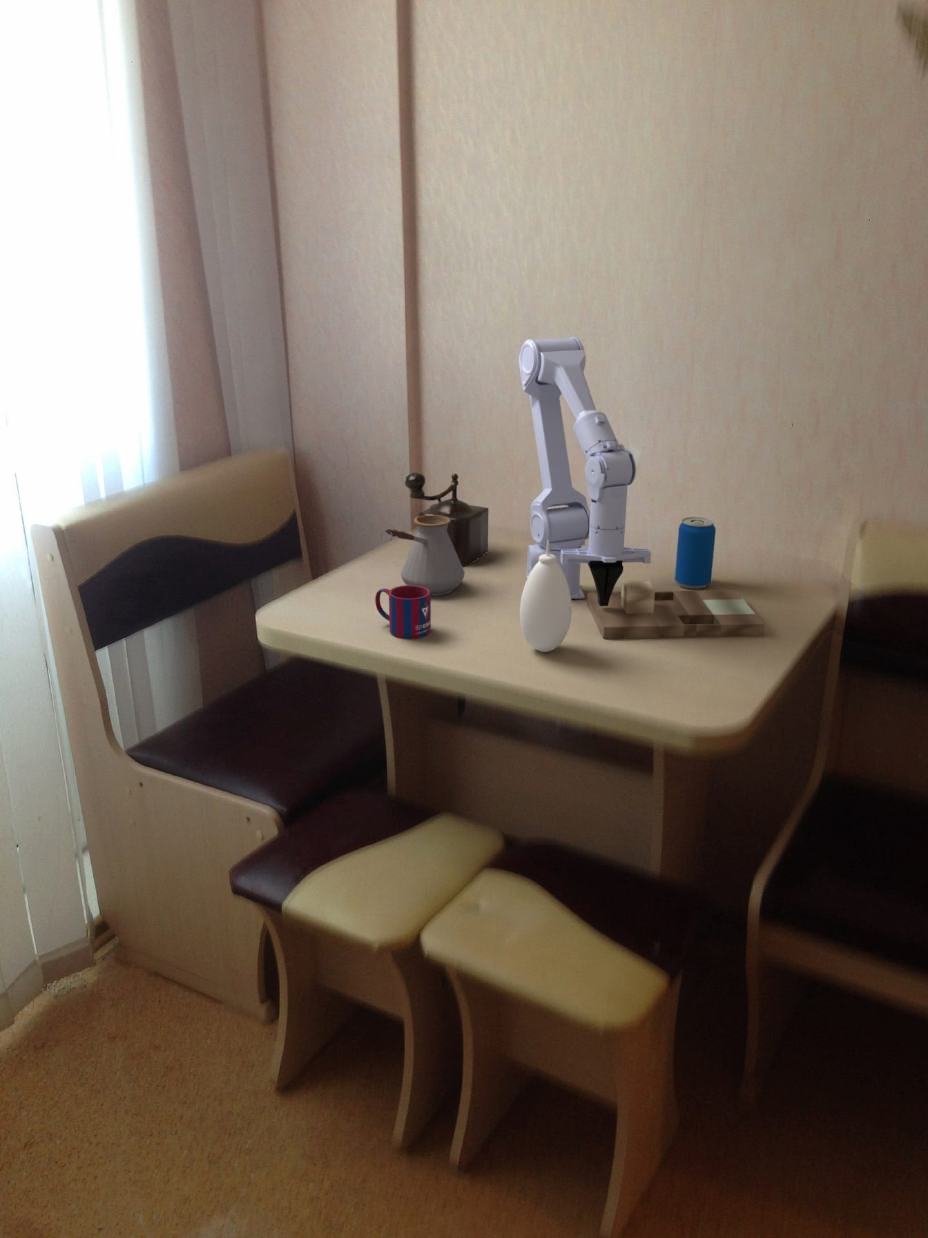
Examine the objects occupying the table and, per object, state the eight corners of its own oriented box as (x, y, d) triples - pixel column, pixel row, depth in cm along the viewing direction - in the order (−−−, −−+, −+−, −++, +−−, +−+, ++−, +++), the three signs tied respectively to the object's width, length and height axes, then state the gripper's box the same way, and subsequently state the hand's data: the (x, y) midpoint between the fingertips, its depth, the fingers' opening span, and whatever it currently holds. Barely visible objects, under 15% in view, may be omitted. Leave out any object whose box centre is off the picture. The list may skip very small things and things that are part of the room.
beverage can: (708, 579, 199) (714, 516, 195) (712, 591, 193) (718, 526, 189) (673, 578, 200) (678, 515, 195) (676, 589, 194) (681, 525, 189)
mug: (412, 642, 170) (411, 602, 168) (366, 627, 176) (365, 588, 174) (439, 630, 175) (439, 590, 173) (393, 616, 181) (393, 577, 179)
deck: (603, 638, 172) (604, 627, 171) (586, 603, 187) (587, 592, 186) (763, 635, 174) (764, 624, 173) (733, 601, 188) (734, 590, 188)
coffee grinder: (440, 544, 219) (440, 457, 212) (489, 552, 214) (490, 463, 207) (401, 566, 206) (399, 473, 199) (452, 575, 201) (452, 480, 194)
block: (626, 613, 177) (627, 590, 176) (620, 603, 181) (622, 581, 180) (653, 613, 177) (654, 590, 176) (647, 603, 181) (648, 581, 180)
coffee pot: (421, 574, 201) (420, 496, 196) (475, 584, 196) (476, 504, 191) (358, 610, 184) (355, 525, 178) (416, 622, 179) (415, 535, 173)
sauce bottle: (556, 663, 163) (561, 550, 156) (510, 653, 166) (513, 542, 160) (577, 646, 169) (582, 536, 163) (532, 636, 173) (535, 528, 166)
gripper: (566, 532, 169) (563, 613, 174) (657, 531, 170) (651, 611, 175) (559, 520, 176) (557, 598, 181) (647, 519, 177) (642, 596, 182)
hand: (602, 604), depth 179 cm, fingers closed
